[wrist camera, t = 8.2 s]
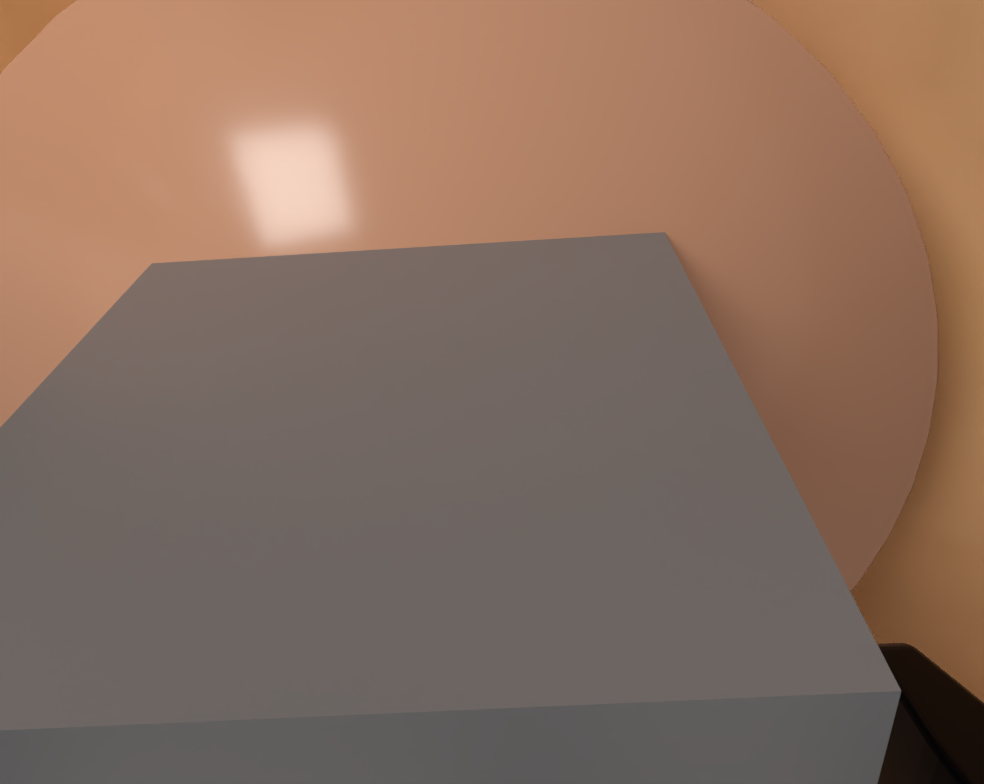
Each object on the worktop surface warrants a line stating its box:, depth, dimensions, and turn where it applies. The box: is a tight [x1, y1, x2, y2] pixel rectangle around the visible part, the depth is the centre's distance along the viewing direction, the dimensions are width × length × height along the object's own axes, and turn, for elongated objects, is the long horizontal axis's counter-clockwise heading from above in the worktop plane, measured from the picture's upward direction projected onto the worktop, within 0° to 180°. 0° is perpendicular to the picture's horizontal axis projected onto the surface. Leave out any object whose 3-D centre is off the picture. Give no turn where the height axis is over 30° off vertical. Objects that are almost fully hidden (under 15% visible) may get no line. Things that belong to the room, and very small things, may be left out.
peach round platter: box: [0, 0, 938, 591], centre depth 13 cm, size 14×14×1 cm
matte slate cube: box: [0, 232, 901, 784], centre depth 9 cm, size 6×6×7 cm
